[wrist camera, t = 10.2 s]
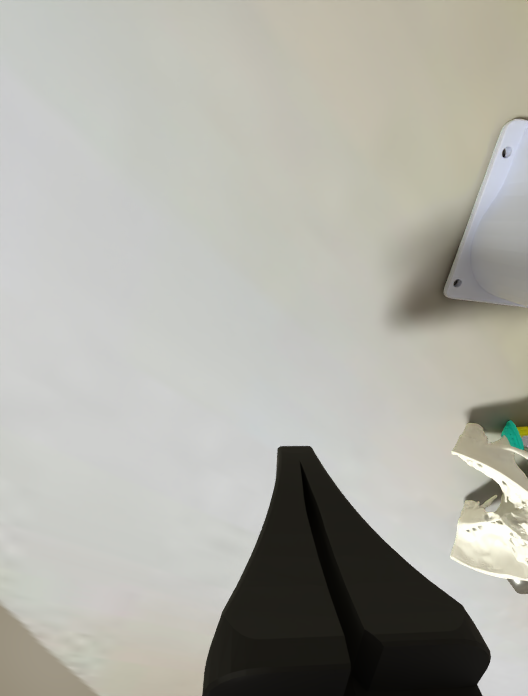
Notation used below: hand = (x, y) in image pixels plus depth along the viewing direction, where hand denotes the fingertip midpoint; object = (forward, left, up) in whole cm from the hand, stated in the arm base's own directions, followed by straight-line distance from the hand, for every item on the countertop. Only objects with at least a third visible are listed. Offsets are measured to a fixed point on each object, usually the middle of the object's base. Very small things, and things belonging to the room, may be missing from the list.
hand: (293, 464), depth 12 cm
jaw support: (+7, +21, -10) cm, 24 cm away
